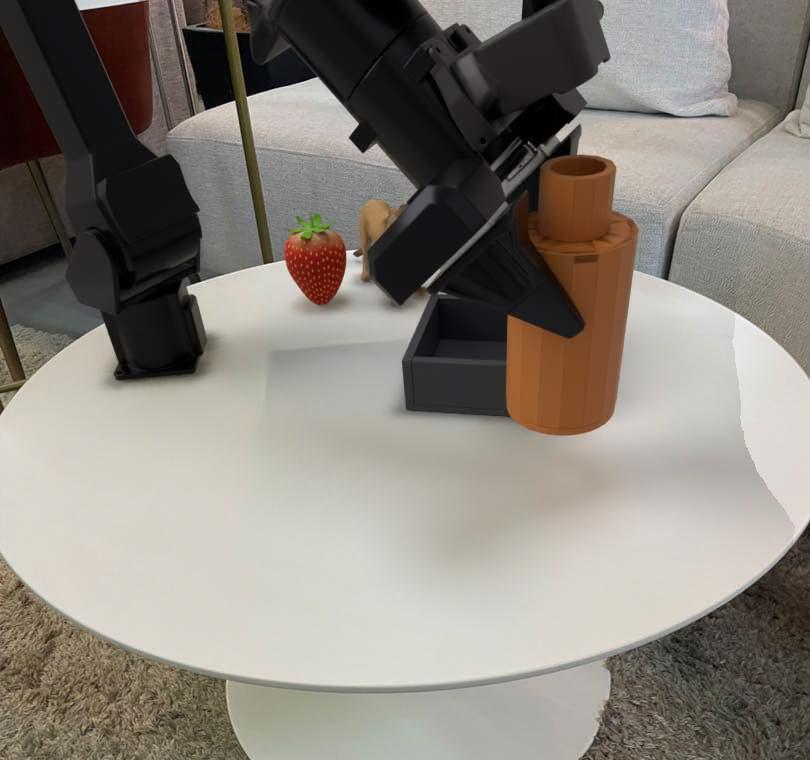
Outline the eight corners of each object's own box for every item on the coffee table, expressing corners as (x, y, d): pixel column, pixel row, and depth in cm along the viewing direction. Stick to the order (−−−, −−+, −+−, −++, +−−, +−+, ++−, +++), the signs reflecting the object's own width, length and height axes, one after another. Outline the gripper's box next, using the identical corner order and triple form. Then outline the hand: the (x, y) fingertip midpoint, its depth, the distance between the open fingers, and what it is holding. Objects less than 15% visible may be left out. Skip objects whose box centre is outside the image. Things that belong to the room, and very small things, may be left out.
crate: (405, 410, 58) (401, 360, 55) (433, 339, 66) (431, 293, 63) (551, 419, 56) (554, 368, 53) (563, 345, 63) (566, 297, 61)
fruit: (284, 313, 71) (267, 221, 66) (307, 287, 75) (293, 199, 69) (340, 318, 70) (327, 225, 64) (361, 291, 73) (351, 201, 68)
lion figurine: (465, 303, 70) (463, 197, 64) (414, 322, 68) (407, 214, 62) (376, 253, 79) (367, 156, 73) (329, 268, 77) (316, 170, 71)
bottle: (514, 440, 45) (522, 194, 36) (500, 381, 50) (504, 151, 41) (626, 431, 45) (661, 183, 36) (601, 373, 50) (627, 141, 41)
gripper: (417, -57, 27) (699, 290, 31) (560, -112, 40) (748, 140, 43) (260, 172, 35) (499, 426, 39) (420, 66, 47) (589, 266, 51)
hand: (593, 303), depth 43 cm, fingers closed on bottle, 6 cm apart
